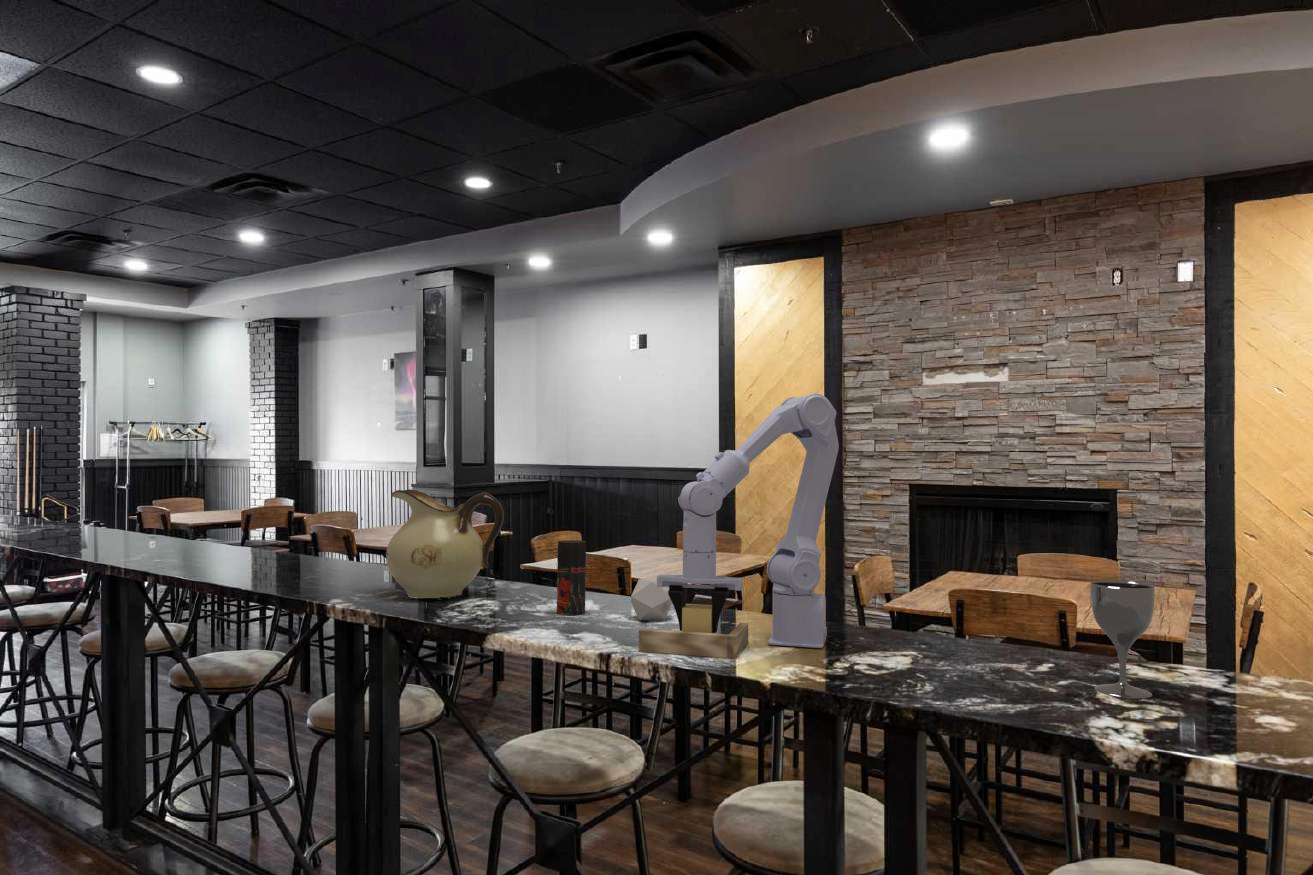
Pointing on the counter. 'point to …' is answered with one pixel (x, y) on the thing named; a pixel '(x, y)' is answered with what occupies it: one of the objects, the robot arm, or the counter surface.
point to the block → (697, 618)
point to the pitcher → (439, 545)
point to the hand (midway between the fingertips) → (698, 630)
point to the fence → (695, 642)
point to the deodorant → (571, 577)
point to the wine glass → (1122, 624)
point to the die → (650, 600)
